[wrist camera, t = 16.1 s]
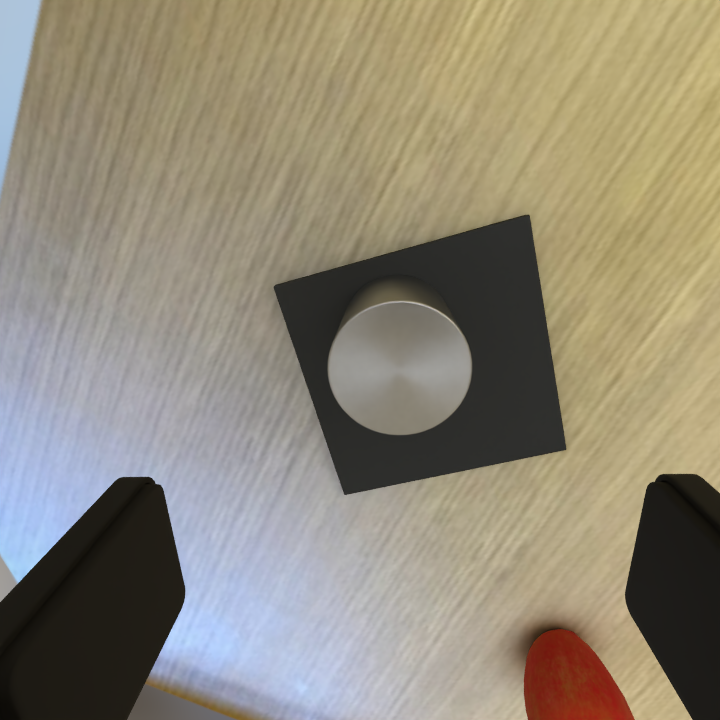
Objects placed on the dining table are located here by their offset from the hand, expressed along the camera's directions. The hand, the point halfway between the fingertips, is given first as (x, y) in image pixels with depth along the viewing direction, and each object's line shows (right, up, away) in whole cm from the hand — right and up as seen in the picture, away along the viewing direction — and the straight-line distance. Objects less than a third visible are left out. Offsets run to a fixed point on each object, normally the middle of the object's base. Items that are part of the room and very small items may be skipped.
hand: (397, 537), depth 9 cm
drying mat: (+3, +3, +18) cm, 18 cm away
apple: (+13, -17, +24) cm, 32 cm away
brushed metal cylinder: (+1, +5, +16) cm, 17 cm away
